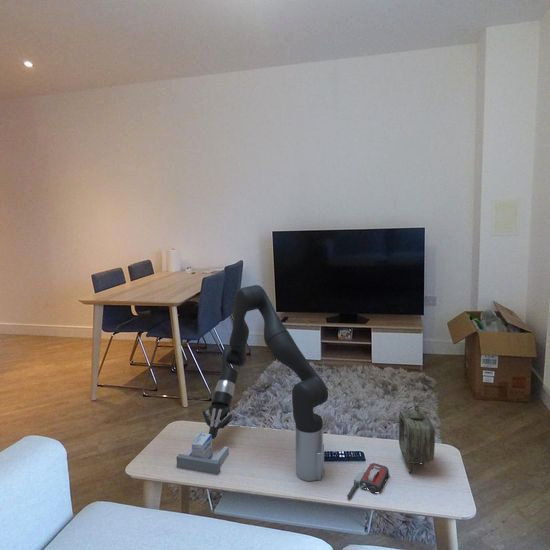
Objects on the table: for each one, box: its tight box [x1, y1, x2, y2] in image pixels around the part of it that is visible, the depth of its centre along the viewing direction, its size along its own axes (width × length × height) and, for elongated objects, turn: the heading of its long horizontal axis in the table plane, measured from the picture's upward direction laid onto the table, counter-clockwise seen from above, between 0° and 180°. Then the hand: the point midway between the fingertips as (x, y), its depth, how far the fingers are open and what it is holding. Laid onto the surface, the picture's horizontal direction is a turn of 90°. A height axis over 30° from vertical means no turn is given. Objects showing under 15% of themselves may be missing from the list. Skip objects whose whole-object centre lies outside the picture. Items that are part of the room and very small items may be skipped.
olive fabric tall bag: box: [398, 395, 436, 474], centre depth 144 cm, size 14×9×25 cm, turn 175°
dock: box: [176, 445, 230, 476], centre depth 149 cm, size 16×12×4 cm
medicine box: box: [191, 432, 213, 459], centre depth 149 cm, size 8×4×9 cm, turn 165°
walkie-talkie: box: [346, 462, 389, 499], centre depth 134 cm, size 9×4×20 cm
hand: (211, 438), depth 154 cm, fingers closed
